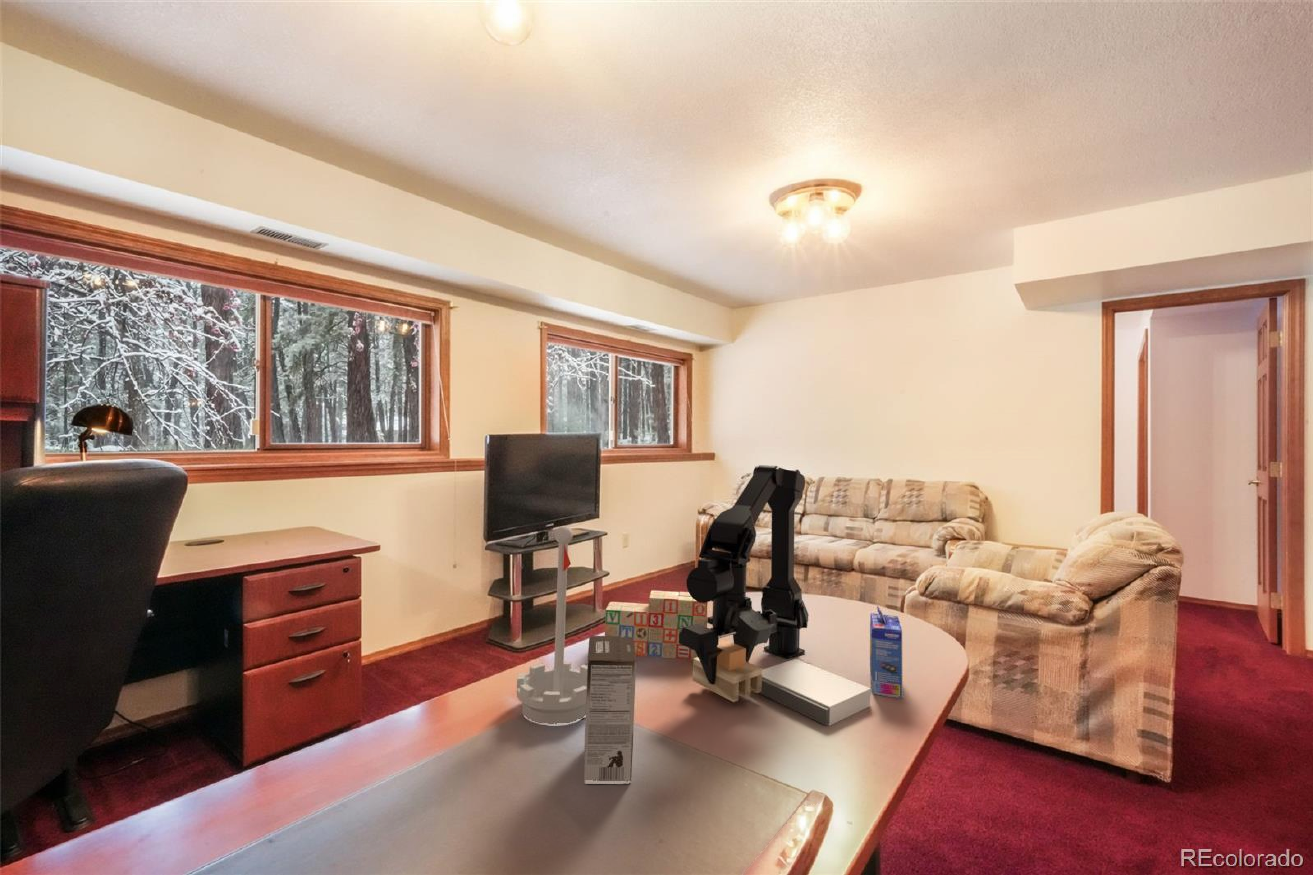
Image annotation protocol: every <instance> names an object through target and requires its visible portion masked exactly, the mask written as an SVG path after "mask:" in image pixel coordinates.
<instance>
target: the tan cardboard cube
mask: <svg viewBox="0 0 1313 875" xmlns="http://www.w3.org/2000/svg"><path fill="white" fill-rule="evenodd" d="M717 647H718V648H721V649H723V651H722V652H721V653H720V654H719V655H718V656H717V665H718V666H721V667H723V668H725V669H727V670H729V671H730V670H733V669H736V668H739V667H742V666H745V662H746V648H744V647H741V646H739V645H737V644H734V642H731V641H729V640H726V639H723V640H721V641H720V640H719V642H718V646H717Z"/></svg>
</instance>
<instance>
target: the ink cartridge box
mask: <svg viewBox="0 0 1313 875" xmlns="http://www.w3.org/2000/svg"><path fill="white" fill-rule="evenodd" d="M876 610H877V612H878V613H875V612H874V613H872V612H871V613H870V616H869V618H870V619H869V620H870V623H869V624H870V625H869V673H870V674H869V676H870V688H871V694H873V695H877V696H878V695H879V696H882V697H888V696H889V697H890V698H894V697H895V698H896V699H899V698H901V699H903V697H904V696H903V692H904V691H903V689H904V688H903V687H904V686H903V685H904V682H903V629H902V626H901V622H900V619H899V616H897V615H889V614H884V613H883V612H882V610H881V609H880V607H879V606H878V605H877V606H876ZM895 698H894V699H895Z"/></svg>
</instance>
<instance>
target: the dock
mask: <svg viewBox="0 0 1313 875" xmlns="http://www.w3.org/2000/svg"><path fill="white" fill-rule="evenodd" d="M758 694H760V695H762V696H765V697H766V698H769V699H772V700H773V701H775V702H778V703H780V704H781V705H784V706H786V707H788V708H789V709H792V710H794V711H795V712H798V713H800V714H802V715H804V716H807V717H808V718H811V719H812V720H814V721H817V722H819V723H821V724H823V725H825V726H829V727H830V726H832V725H833V724H836V723H838V722H840V721H842V720H845V719H846V718H849V717H850V716H853V715H854V714H857V713H859V712H862V711H863V710H865V709H868V708H869V707H871V694H872V692H871V687H868V686H866V685H863V684H860V683H858V682H855V681H853V680H850V679H848V678H846V677H843V676H840V675H838V674H835V673H832V672H830V671H827V670H825V669H823V668H820V667H816V666H814V665H812V664H809V663H806V662H804V661H802V660H799V659H797V658H794V659H791V660H787V661H784V662H782V663H779V664H776V665H773V666H769V667H767V668H764V669H763V668H762V687H761V692H759V693H758Z"/></svg>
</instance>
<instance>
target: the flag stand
mask: <svg viewBox="0 0 1313 875" xmlns="http://www.w3.org/2000/svg"><path fill="white" fill-rule="evenodd" d="M573 534H574V532H573V530H572V529H571V527H569V526H567V525H562V526H559V527H558V528H557V529H556V530H555V532H554V539H555V540H556V541H557V543H558V550H557V551H558V552H557V553H558V558H557V559H558V560H557V582H556V584H557V585H556V604H555V606H556V607H555V608H556V609H555V633H554V634H555V637H554V657H553V658H554V660H553V661H554V662H553V663H554V664H553V668H546V667H545V666H546V665H545V664H544V663H538V664H535V665H532V666H529V673H528V674H527V673H526V672H520V673H519V675H518V676H517V678H516V698H517V699H518V701H519V702H521V703H522V715H523V714H524V715H525V716H526V717H527V718H528V719H531V720H532V721H535V722H538V723H548V724H554V723H555V724H557V723H570V722H573V721H576V720H577V719H581V718H583V717H584V716H585V715H586V690H587V666H588V664H587V665H586V664H582V665H580V667H579V669H576V668H572V661H565V638H566V637H565V636H566V634H565V633H566V611H567V609H566V608H567V584H568V579H567V578H568V568H569V567H570V565H571V564H572V563H571V560H570V557H569V552H568V551H569V543H570V542H571V541H572V540H573V537H574V535H573Z"/></svg>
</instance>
